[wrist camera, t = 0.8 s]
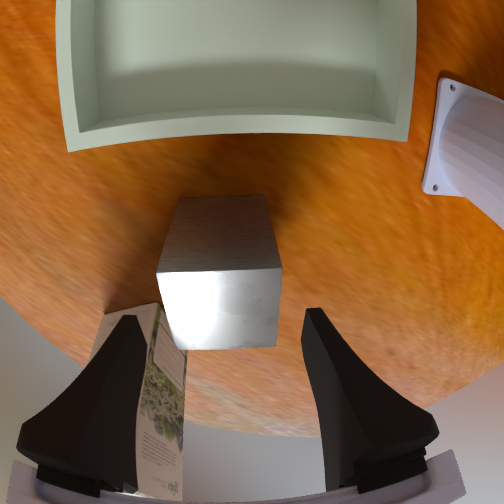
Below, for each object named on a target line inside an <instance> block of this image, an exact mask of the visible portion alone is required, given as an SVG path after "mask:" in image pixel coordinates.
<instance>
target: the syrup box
mask: <svg viewBox="0 0 504 504" xmlns="http://www.w3.org/2000/svg"><path fill="white" fill-rule="evenodd" d="M123 315H137V318H138V321H139V324H140V326H141V329H142V332H143V334H144V337H145V339H146V342H147V344H148V346H147V359H146V367H145V373H144V378H143V383H142V388H141V393H140V398H139V404H138V410H137V420H136V469H137V480H138V489H139V490H138V491H137V492H135V493H134V494H129V493H120V494H125V495H131V496H137V497H144V498H152V499H161V500H171V501H182V460H183V459H182V458H183V457H182V456H183V455H182V454H183V421H184V400H185V382H186V364H187V351H188V350H177V349H176V346H175V342H174V339H173V336H172V332H171V329H170V325H169V322H168V318H167V315H166V313H165V312H164V310H163V308H162V307H161V306H160V304H159V303H157V302H156V303H151V304H146V305H141V306H137V307H133V308H129V309H125V310H121V311H117V312H113V313H109V314H105V315H104V316H103V317H102V320H101V323H100V326H99V329H98V333H97V336H96V339H95V342H94V346H93V349H92V352H91V355H90V359H89V362H90V361H91V360H92V358H93V357H94V356H95V354H96V353H97V352H98V350H99V349H100V347H101V346H102V345H103V343H104V342H105V340H106V339H107V337H108V336H109V335H110V333H111V332H112V330H113V329H114V327H115V326H116V324H117V323H118V321H119V320H120V318H121V317H122V316H123ZM89 362H88V363H89ZM115 493H119V492H115Z"/></svg>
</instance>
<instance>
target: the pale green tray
mask: <svg viewBox="0 0 504 504" xmlns="http://www.w3.org/2000/svg"><path fill="white" fill-rule="evenodd" d="M416 39H417V4H416V0H56V57H57V73H58V85H59V94H60V103H61V111H62V118H63V125H64V131H65V137H66V143H67V148H68V152H72V151H77V150H82V149H88V148H93V147H99V146H105V145H112V144H118V143H125V142H133V141H141V140H149V139H159V138H169V137H180V136H193V135H209V134H231V133H305V134H327V135H343V136H356V137H367V138H377V139H386V140H394V141H402V142H407V138H408V131H409V124H410V117H411V108H412V99H413V89H414V77H415V63H416Z"/></svg>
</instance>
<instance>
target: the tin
mask: <svg viewBox="0 0 504 504" xmlns="http://www.w3.org/2000/svg"><path fill="white" fill-rule="evenodd" d="M282 269H283V268H282V264H281V260H280V256H279V252H278V248H277V244H276V239H275V235H274V231H273V227H272V223H271V219H270V215H269V212H268V208H267V204H266V200H265V196H264V194H263V195H231V196H208V197H189V198H179V199H178V202H177V205H176V208H175V211H174V214H173V217H172V221H171V224H170V227H169V230H168V233H167V237H166V240H165V243H164V246H163V250H162V253H161V257H160V260H159V264H158V267H157V271H156V276H157V280H158V284H159V288H160V292H161V296H162V300H163V304H164V307H165V311H166V315H167V318H168V322H169V325H170V329H171V332H172V336H173V339H174V342H175V346H176V349H177V350H210V349H240V348H259V347H274V346H276V339H277V329H278V317H279V306H280V294H281V282H282Z"/></svg>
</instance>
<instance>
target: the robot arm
mask: <svg viewBox="0 0 504 504" xmlns="http://www.w3.org/2000/svg"><path fill="white" fill-rule="evenodd" d="M451 84H452V89H450V85H451ZM434 185H435V188H433V186H434ZM422 190H423V191H424V192H425V193H427V194H436V195H450V196H462V197H466V198H467V199H468V200H470V201H471V202H472V203H473V204H475V205H476V206H477V207H478V208H479V209H481V210H482V211H483V212H484V213H485V214H486V215H488V216H489V217H490V218H491V219H492V220H493V221H494V222H495V223H497V224H498V225H499V226H500V227H501V228H502V229H503V230H504V100H502V99H500V98H497V97H495V96H493V95H491V94H488V93H486V92H483V91H481V90H479V89H476V88H473V87H471V86H468V85H466V84H463V83H460V82H457V81H455V80H452V79H449V78H445V77H442V78H440V80H439V82H438V91H437V100H436V109H435V116H434V123H433V130H432V136H431V142H430V148H429V153H428V158H427V163H426V168H425V173H424V178H423V182H422ZM301 344H302V351H303V357H304V362H305V366H306V369H307V373H308V376H309V380H310V384H311V387H312V391H313V394H314V398H315V402H316V406H317V410H318V417H319V423H320V430H321V438H322V446H323V456H324V466H325V483H326V492H324V493H320V494H314V495H307V496H301V497H294V498H286V499H277V500H267V501H254V502H229V503H228V502H226V503H212V502H211V503H210V502H209V503H208V502H185V501H171V500H161V499H152V498H144V497H137V496H131V495H125V494H120V493H129V494H134V493H135V492H137V491H138V490H139V489H138V480H137V469H136V420H137V410H138V404H139V398H140V393H141V388H142V383H143V378H144V373H145V367H146V359H147V346H148V344H147V342H146V339H145V337H144V334H143V332H142V329H141V326H140V324H139V321H138V318H137V315H123V316H122V317H121V318H120V320H119V321H118V323H117V324H116V326H115V327H114V329H113V330H112V332H111V333H110V335H109V336H108V337H107V339H106V340H105V342H104V343H103V345H102V346H101V347H100V349H99V350H98V352H97V353H96V354H95V356H94V357H93V358H92V360H91V361H90V362H89V363H88V365H87V366H86V367H85V369H84V370H83V371H82V372H81V373H80V375H79V376H78V377H77V378H76V379H75V380H74V381H73V382H72V383H71V385H70V386H69V387H68V388H67V389H66V390H65V391H64V392H63V393H62V394H60V395H59V396H58V397H57V398H56V399H55V400H54V401H53V402H51V403H50V404H49V405H48V406H47V407H46V408H44V409H43V410H42V411H40V412H39V413H38V414H36V415H35V416H33V417H32V418H30V419H29V420H27V421H26V422H24V423H23V424H22V427H21V430H20V434H19V438H18V442H17V446H16V448H17V450H18V451H19V452H20V453H22V454H23V455H24V456H26V457H27V458H29V459H31V460H32V461H34V462H36V463H37V464H38V469H36V468H34V467H32V466H29V465H26V464H24V463H22V462H19V461H17V460H14V461H13V465H12V470H11V475H10V481H9V487H8V493H7V500H6V503H7V504H449V503H451V502H453V501H455V500H457V499H458V498H460V497H462V496H464V495H465V494H466V490H465V486H464V483H463V480H462V477H461V473H460V470H459V467H458V464H457V461H456V459H455V455H454V452H453V450H448V451H446V452H444V453H442V454H439V455H437V456H435V457H432V458H430V459H428V460H426V461H425V458H424V456H425V455H426V450H425V446H427V445H428V444H429V443H431V442H432V441H433V440H435V438H437V437H438V435H439V430H438V427H437V424H436V422H435V420H434V418H433V416H432V414H430V413H428V412H427V411H425V410H423V409H421V408H420V407H418V406H416V405H414V404H413V403H411V402H410V401H408V400H407V399H405V398H404V397H402V396H401V395H400V394H399V393H397V392H396V391H395V390H393V389H392V388H391V387H390V386H388V385H387V384H386V383H385V382H383V381H382V380H381V379H380V378H379V377H378V376H377V375H376V374H375V373H374V372H373V371H372V370H370V369H369V368H368V366H367V365H366V364H365V363H364V362H363V361H362V360H361V359H360V358H359V357H358V356H357V355H356V353H355V352H354V351H353V350H352V349H351V348H350V346H349V345H348V344H347V343H346V341H345V340H344V339H343V338H342V336H341V335H340V334H339V332H338V331H337V330H336V328H335V327H334V326H333V324H332V323H331V321H330V320H329V319H328V317H327V316H326V314H325V313H324V311H323V310H322V309H321V308H320V307H319V308H307V309H306V313H305V318H304V324H303V330H302V335H301ZM115 492H119V493H115Z"/></svg>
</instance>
